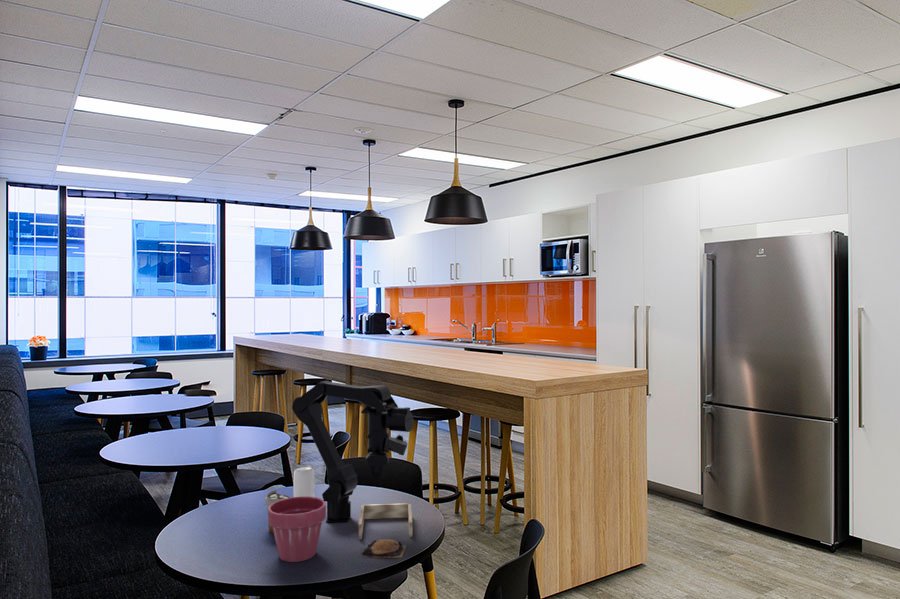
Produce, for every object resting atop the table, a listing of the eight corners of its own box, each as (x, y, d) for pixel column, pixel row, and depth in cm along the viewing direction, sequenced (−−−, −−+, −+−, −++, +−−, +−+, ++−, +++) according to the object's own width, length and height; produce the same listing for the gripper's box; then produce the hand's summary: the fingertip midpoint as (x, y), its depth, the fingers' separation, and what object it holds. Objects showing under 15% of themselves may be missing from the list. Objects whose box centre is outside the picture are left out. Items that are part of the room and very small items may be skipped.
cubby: (358, 539, 166) (358, 524, 166) (361, 518, 183) (361, 504, 183) (412, 537, 168) (412, 522, 168) (410, 516, 184) (410, 503, 184)
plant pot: (277, 571, 146) (277, 517, 146) (261, 551, 158) (261, 502, 158) (334, 558, 154) (334, 507, 154) (315, 540, 166) (314, 493, 166)
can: (311, 508, 192) (311, 470, 192) (291, 508, 192) (291, 470, 192) (316, 502, 198) (316, 465, 199) (296, 502, 199) (296, 465, 199)
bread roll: (407, 548, 161) (407, 534, 162) (401, 561, 153) (401, 546, 153) (367, 546, 163) (367, 532, 163) (359, 559, 154) (359, 544, 154)
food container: (256, 529, 174) (255, 494, 174) (275, 523, 179) (275, 489, 179) (279, 540, 166) (279, 503, 166) (299, 533, 171) (299, 497, 171)
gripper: (406, 435, 169) (406, 492, 169) (405, 422, 188) (405, 473, 188) (365, 436, 168) (365, 493, 168) (368, 423, 187) (368, 474, 187)
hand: (377, 483), depth 178 cm, fingers closed
